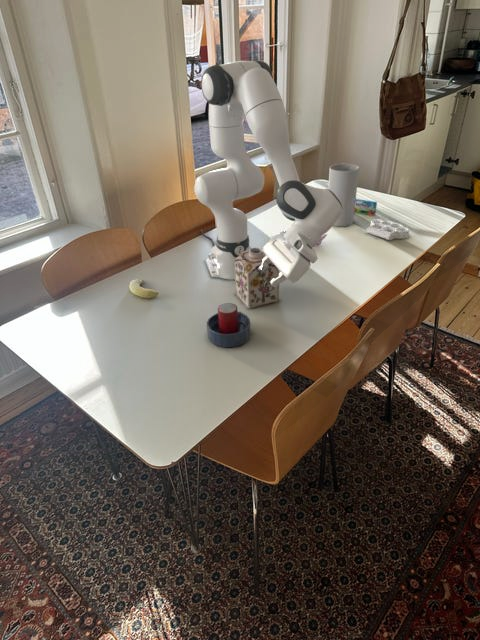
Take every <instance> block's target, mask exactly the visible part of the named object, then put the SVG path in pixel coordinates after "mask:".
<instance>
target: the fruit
mask: <svg viewBox="0 0 480 640" xmlns="http://www.w3.org/2000/svg"><path fill="white" fill-rule="evenodd" d="M144 282H145V281H144V279H140V278H139V279H137V278H136V279H133V280H131V281H130V282H129V290H130V292H131V293H132V294H133V295H135V296H137V297H141V298H143V299H154V298H156V297H158V296H159V292H158V291H157V290H154V289H150V288H146V287H142V286H141V285H142V283H144Z"/></svg>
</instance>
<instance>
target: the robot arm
mask: <svg viewBox="0 0 480 640" xmlns="http://www.w3.org/2000/svg"><path fill="white" fill-rule="evenodd" d="M200 87H201V92H202V96H203V97H204V99H205V101H206V102H207V103H208V128H209V129H208V130H209V141H210V149H211V151H212V153H214V154H215V155H216V157H219V158H221V159H223V160H225V161H226V168H225V167H224V168H219V169H215V170H212V171H208V172H205V173H203V174H200V175H198V176H197V177H196V179H195V181H194V186H193V191H194V194H195V197H196V199H197V200H198V201H199V202H200V203H201V204H202V205H203V206H206V207H207V208H208V209H209V210H210V211H211V213H212V214H213V216H214V220H215V224H216V233H217V234H216V240H215V242H214V240H213V238H211V237H210V236H207V235H206V234H205V233H204V231H203V229H200V231H199V232H200V233H201V235H202V236H203V237H204V238H206V239H208V240H209V241H210V242H211V244H212V247H211V249H210V253H208V257H207V258H206V259H205V264H206V266H207V269H208V271H209V274H210V276H211V277H212V278H217V279H219V278H220V279H224V280H231V281H233V280H234V281H235V269H234V261H235V259H236V258H237V257H238V256H239V255H240V254H241V253H242V252H244V251H248V250H250V249H251V248H252V246H250V236H249V234H248V217H247V215H246V213H244V211H242V210H241V209H238V208H235V207H234V201H237V200H242V199H245V198H250V197H253V196H254V195H256V194H258V193H261V192H262V191H263V188H264V186H265V175H264V172H263V171H262V168H260V167H259V166H258V165H256V164H255V163H254V162H253V161H252V160H251V158H250V157H249V155H248V151H247V148H246V143H245V142H246V141H245V129H244V116H245V120H246V122H247V125H248V127H249V129H250V132H251V134H252V135H253V137H254V139H255V140H256V142H257V144H258V145H259V146H260V148H261V149H262V150H263V151H264V153H265V155H266V156H267V157H268V159H269V161H270V163H271V165H272V168H273V171H274V174H275V177H276V180H277V182H278V186H279V187H278V189H277V191H276V195H275V202H276V204H277V207H278V209H279V210H280V211H281V213H282V215H283V216H284V217H285V218H286V219H287V220H289V221H292V222H293V223H292V224H291V225H290V227H289V228H288V229H287V230H283V231H280V232H279V233H276V234H275V235H273V236H272V237H271V238H270V239H269V240H268V241H267V242H266V243H265V245H263V247H262V251H263V252H264V253H265V255H266V256H265V257H264V259H263V262H262V264H261V266H260V267H259V268H258V269H259V270H260V271H261V272H262V273H264V272H265V271H266V270H267V266H268V264H269V263H271V262H273V264H274V265H275V266H276V267H277V268H278V269H279V277H277V278H275V279H274V278H273V279H272V280H271V281H270V284H271V285H272V286H273V287H274V288H275V287H277V285H278V284H279V285H281V284H282V283H284V282H286V281H287V280H288V281H290V282H291V283H293V284H294V283H296V282H298V281H300V279H301V278H302V277H303V276H304V275H305V274H306V273H307V271H308V270H309V269H310V267H311V264H314V263H316V262H317V260H318V255H317V252H316V246H315V245H316V244H317V243H318V241H319V239H320V237H321V236H322V235H323V234H327V233H328V232H329V231H330V229H331V228H332V227H334V226H333V225H334V223H335V222H336V221H337V219H338V218H339V216H340V215H341V213H342V205H341V202H340V201H339V199H338V198H337V197H336V195H335V194H334V193H333V192H332V191H331V190H329V189H328V188H318V187H315V186H312V185H308V184H306V183H304V182H302V181H301V179H300V176H299V174H298V171H297V167H296V165H295V162H294V159H293V156H292V151H291V145H290V131H289V122H288V118H287V111H286V107H285V104H284V101H283V98H282V96H281V93H280V91H279V89H278V86H277V84H276V82H275V80H274V76H273V72H272V69H271V67H270V65H269V64H268V63H267V62H266V61H262V60H258V59H257V60H256V59H254V60H235V61H232V62H227V63H223V64H214V65H211V66H208V67H207V68H206V69H204V71H203V73H202V76H201V80H200ZM243 114H244V115H243ZM311 239H312V240H313V241H312V240H311Z"/></svg>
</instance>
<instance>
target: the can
mask: <svg viewBox="0 0 480 640" xmlns="http://www.w3.org/2000/svg"><path fill="white" fill-rule="evenodd" d="M238 312H239V309H238V306H237V305H236V304H234V303H231V302H225V303H222V304H220V305H218V307H217V313H218V318H219V331H220V334H234V333H237V332H239V330H238Z"/></svg>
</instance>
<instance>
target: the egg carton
mask: <svg viewBox="0 0 480 640" xmlns="http://www.w3.org/2000/svg"><path fill="white" fill-rule="evenodd" d="M365 233H366V234H368V235H369V234H370V235H372V236H376V237H378V238H381V239H384V240H387V241H392V240H394V239H398V240H405V239H408V238H409V234H410V228H409V227H406V226H404V225H403V224H401V223H398V222H394V221H392V220H384V219H381V218H375V219H374V218H373V219H372V220H371V221H370V225H369V226H368V227H367V228H366V229H365Z"/></svg>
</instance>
